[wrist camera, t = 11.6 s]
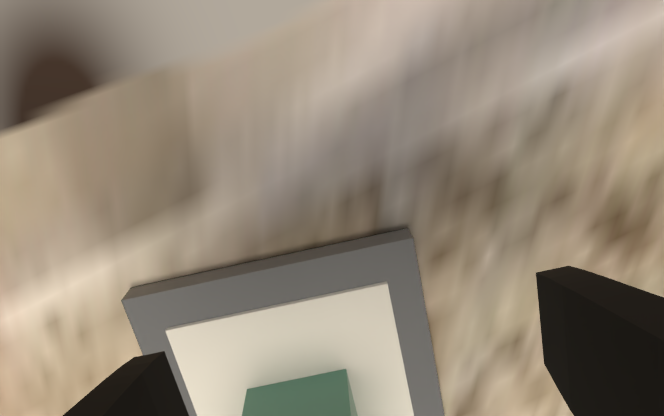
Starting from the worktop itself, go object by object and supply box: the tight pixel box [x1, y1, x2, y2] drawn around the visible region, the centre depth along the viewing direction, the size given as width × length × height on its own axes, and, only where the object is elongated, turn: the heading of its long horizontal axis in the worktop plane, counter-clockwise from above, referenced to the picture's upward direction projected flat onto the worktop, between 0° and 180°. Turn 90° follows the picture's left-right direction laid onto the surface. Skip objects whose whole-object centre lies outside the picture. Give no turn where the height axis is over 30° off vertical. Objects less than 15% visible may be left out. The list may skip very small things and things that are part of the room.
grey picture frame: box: [121, 228, 444, 416], centre depth 20 cm, size 11×13×1 cm
